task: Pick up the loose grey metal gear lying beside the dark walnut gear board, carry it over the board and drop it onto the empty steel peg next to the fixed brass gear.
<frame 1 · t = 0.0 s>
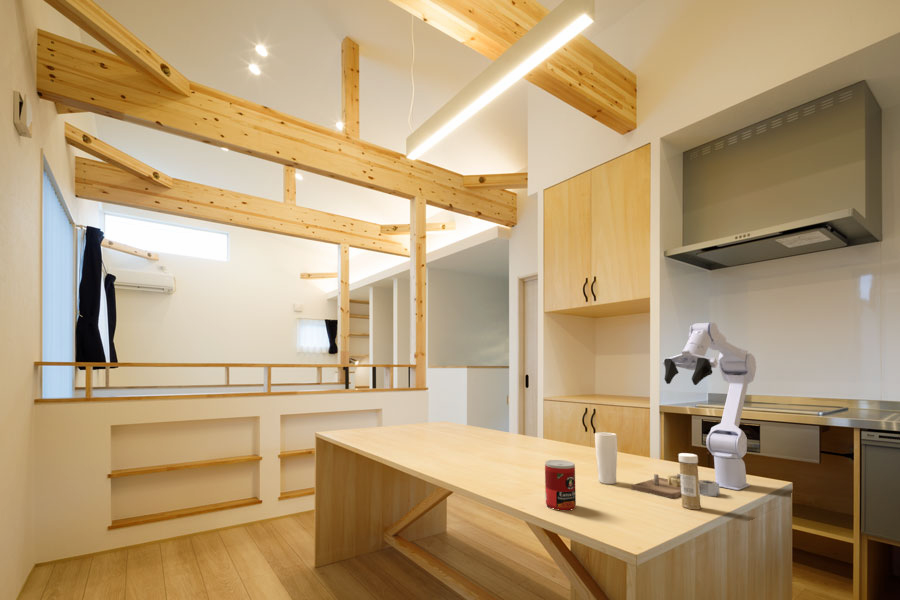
hand: (680, 381, 130), 32 cm above the table, tool tilted 50°, fingers open, 7 cm apart
canned food: (560, 507, 120), on the table
gear board: (665, 489, 138), on the table
loose gear: (708, 493, 134), on the table
drinking glass: (607, 483, 145), on the table
sprinkles bottle: (691, 508, 120), on the table
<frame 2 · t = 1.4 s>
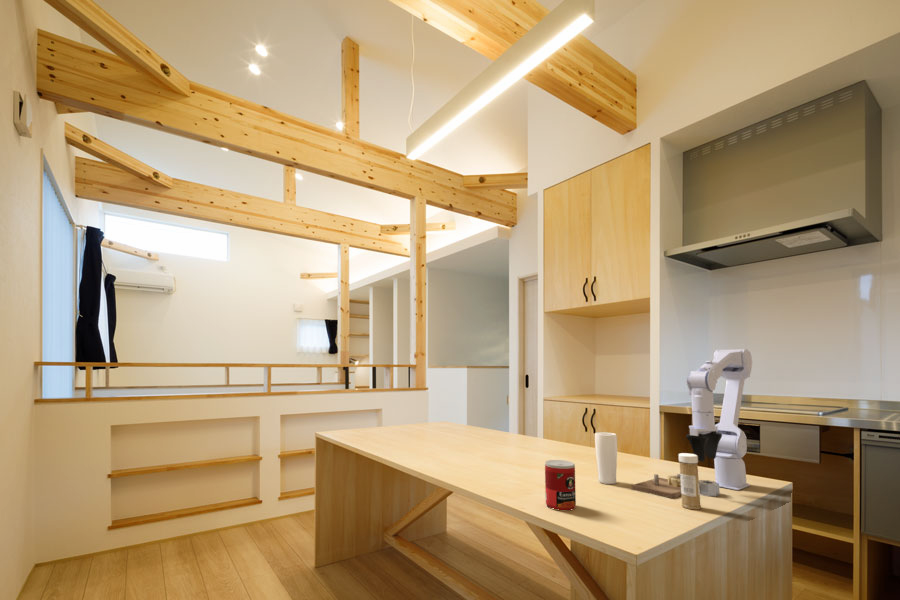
hand: (705, 459, 135), 10 cm above the table, tool pointing down, fingers open, 7 cm apart
nothing on the table moved.
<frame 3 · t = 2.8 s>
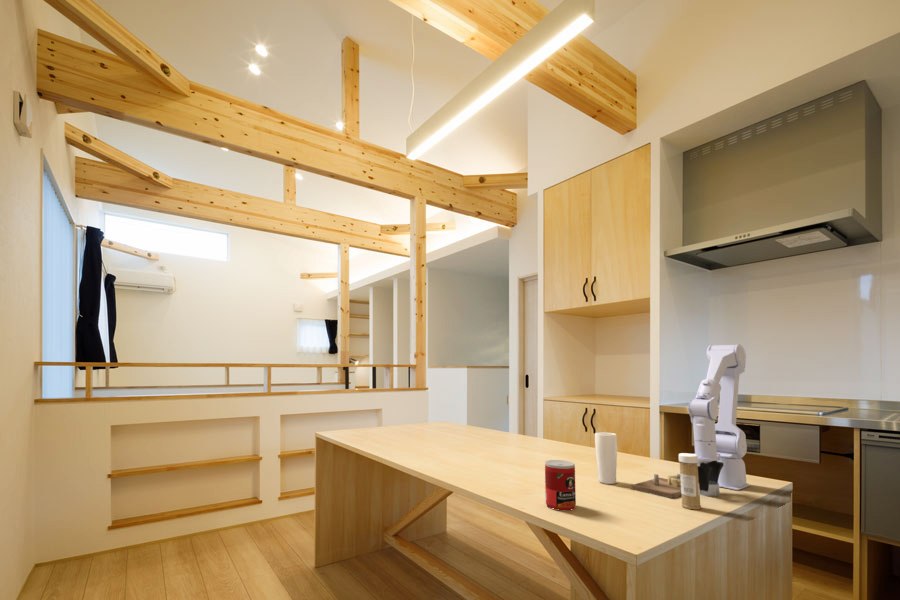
hand: (708, 488, 134), 1 cm above the table, tool pointing down, fingers closed on loose gear, 5 cm apart
loose gear: (708, 493, 134), on the table, touching gripper
everything else where it was.
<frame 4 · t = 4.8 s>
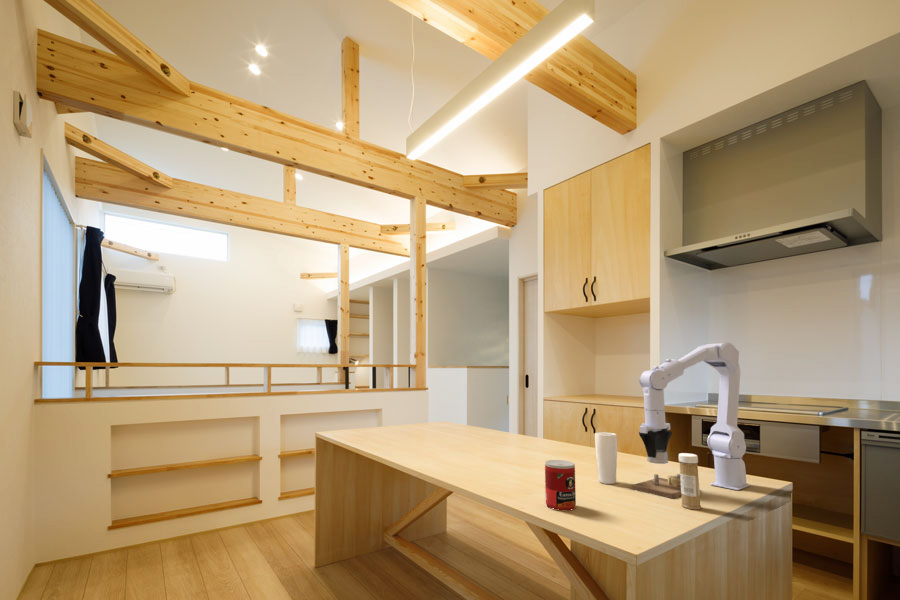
hand: (656, 456, 139), 10 cm above the table, tool pointing down, fingers closed on loose gear, 5 cm apart
loose gear: (657, 461, 139), point 8 cm above the table, touching gripper
everything else where it was.
when the fingers open (3 cm above the table, at t = 6.9 s): loose gear stays where it is, resting on gear board.
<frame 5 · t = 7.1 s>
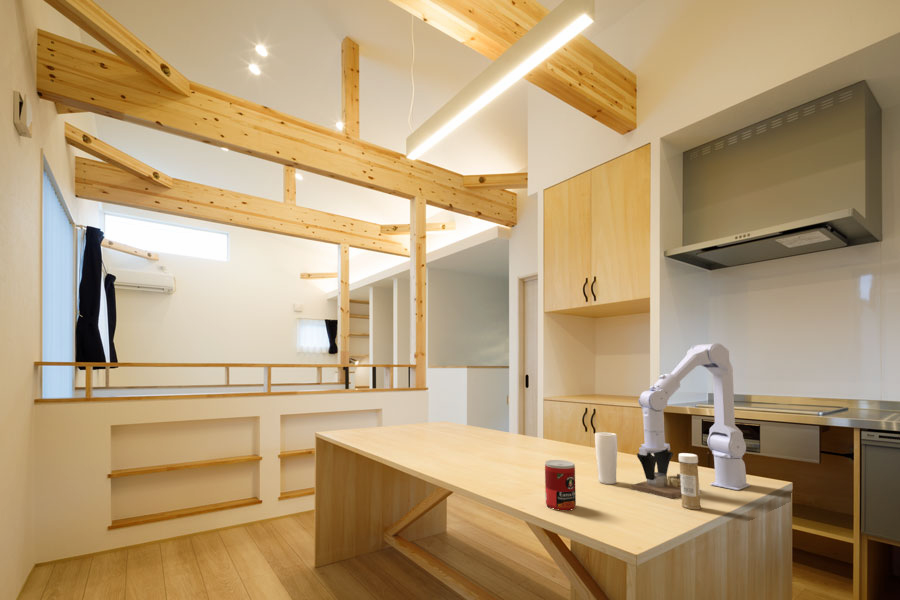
hand: (656, 477, 138), 3 cm above the table, tool pointing down, fingers open, 7 cm apart
loose gear: (657, 485, 138), point 1 cm above the table, touching gear board
everything else where it was.
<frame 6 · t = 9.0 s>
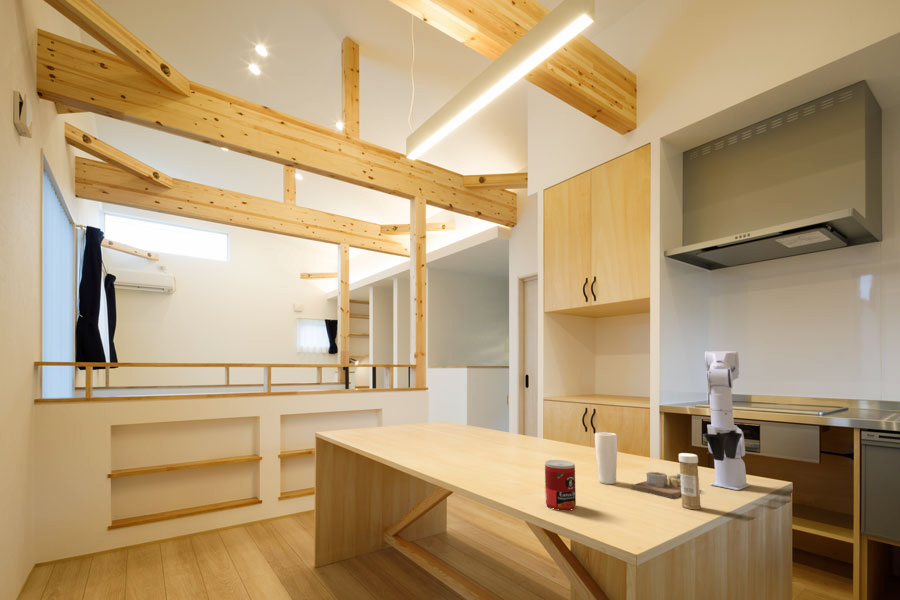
hand: (724, 459, 132), 10 cm above the table, tool pointing down, fingers open, 7 cm apart
nothing on the table moved.
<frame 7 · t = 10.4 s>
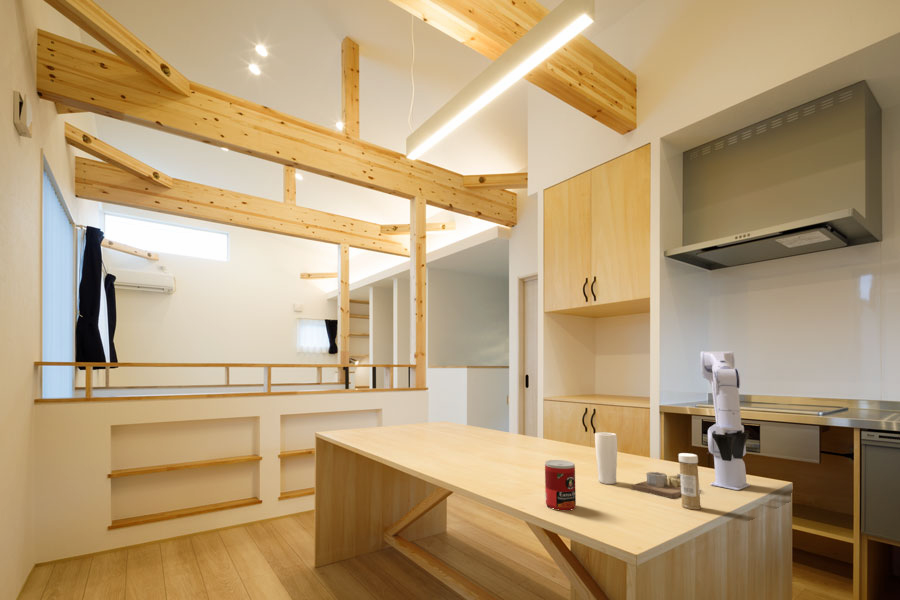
hand: (732, 459, 131), 10 cm above the table, tool pointing down, fingers open, 7 cm apart
nothing on the table moved.
at the end: loose gear 0.2 cm from the target spot, point 1.2 cm above the table; loose gear tilted 0°; the gripper is holding nothing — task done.
